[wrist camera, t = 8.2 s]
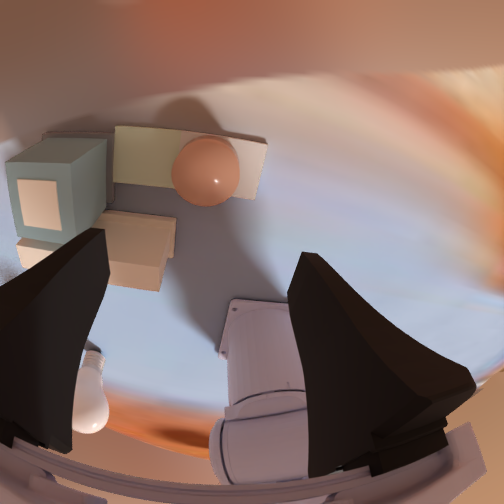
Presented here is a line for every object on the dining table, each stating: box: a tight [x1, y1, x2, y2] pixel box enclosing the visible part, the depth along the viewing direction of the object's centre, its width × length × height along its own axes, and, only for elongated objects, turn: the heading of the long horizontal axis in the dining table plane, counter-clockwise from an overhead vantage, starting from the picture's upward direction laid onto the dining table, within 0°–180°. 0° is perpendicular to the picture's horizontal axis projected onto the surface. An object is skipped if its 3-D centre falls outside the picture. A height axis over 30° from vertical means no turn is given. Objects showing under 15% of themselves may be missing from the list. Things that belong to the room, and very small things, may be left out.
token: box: [171, 135, 240, 206], centre depth 16 cm, size 4×4×2 cm
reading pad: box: [42, 132, 115, 203], centre depth 16 cm, size 5×6×1 cm
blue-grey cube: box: [5, 138, 107, 244], centre depth 14 cm, size 5×5×5 cm
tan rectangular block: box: [16, 209, 177, 292], centre depth 17 cm, size 3×12×5 cm, turn 77°
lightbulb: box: [72, 350, 109, 434], centre depth 25 cm, size 6×6×11 cm
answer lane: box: [113, 126, 268, 200], centre depth 17 cm, size 4×10×1 cm, turn 77°
